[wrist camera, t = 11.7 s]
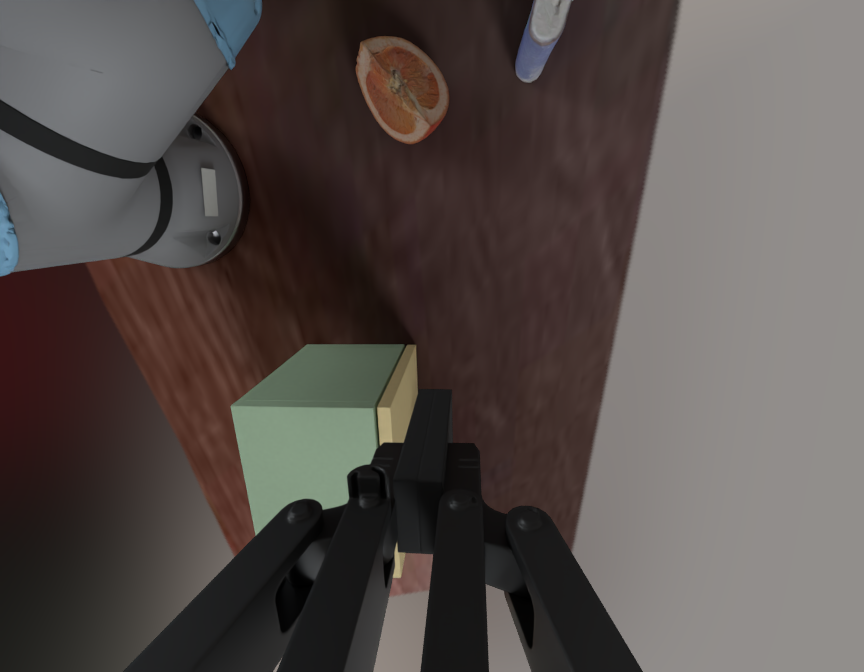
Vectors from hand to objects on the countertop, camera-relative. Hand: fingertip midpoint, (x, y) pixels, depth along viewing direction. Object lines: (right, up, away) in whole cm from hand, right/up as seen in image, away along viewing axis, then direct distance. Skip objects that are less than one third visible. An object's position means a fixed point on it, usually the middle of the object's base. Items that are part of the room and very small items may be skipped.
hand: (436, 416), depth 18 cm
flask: (+9, +30, +16) cm, 35 cm away
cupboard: (-8, -5, +28) cm, 30 cm away
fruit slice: (-2, +25, +18) cm, 31 cm away
